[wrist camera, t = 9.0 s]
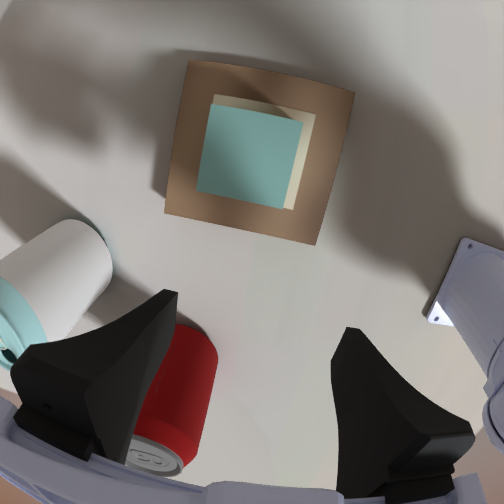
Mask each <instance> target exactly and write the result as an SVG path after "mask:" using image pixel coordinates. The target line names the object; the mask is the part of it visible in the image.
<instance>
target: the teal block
mask: <svg viewBox="0 0 504 504" xmlns="http://www.w3.org/2000/svg"><path fill="white" fill-rule="evenodd" d="M303 123H304V122H300V121H296V120H292V119H288V118H283V117H279V116H274V115H270V114H265V113H260V112H255V111H250V110H245V109H239V108H234V107H228V106H222V105H215V104H211V108H210V113H209V118H208V123H207V129H206V134H205V139H204V145H203V150H202V156H201V162H200V168H199V174H198V180H197V186H196V191H199V192H204V193H209V194H214V195H219V196H224V197H228V198H233V199H238V200H243V201H247V202H252V203H256V204H261V205H265V206H270V207H274V208H279V209H283V206H284V202H285V198H286V194H287V189H288V185H289V181H290V177H291V173H292V169H293V165H294V161H295V156H296V152H297V148H298V144H299V140H300V135H301V131H302V127H303Z"/></svg>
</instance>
